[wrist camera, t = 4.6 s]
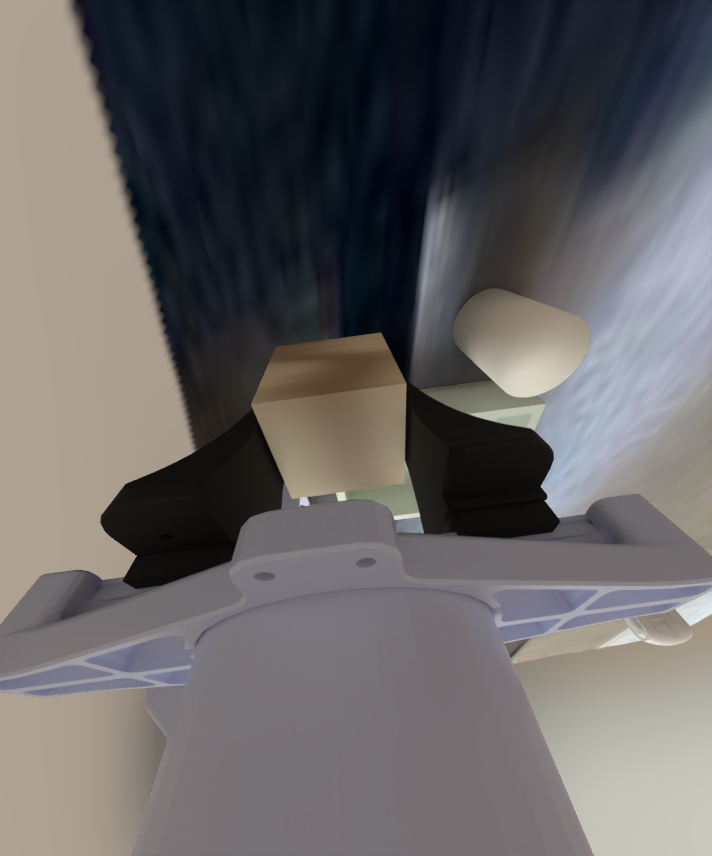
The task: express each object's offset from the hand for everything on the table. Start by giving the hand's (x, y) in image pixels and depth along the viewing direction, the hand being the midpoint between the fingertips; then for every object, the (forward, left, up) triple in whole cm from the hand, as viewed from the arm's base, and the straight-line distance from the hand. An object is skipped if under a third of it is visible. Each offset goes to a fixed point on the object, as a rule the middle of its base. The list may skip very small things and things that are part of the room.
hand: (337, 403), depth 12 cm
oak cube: (0, 0, -2) cm, 2 cm away
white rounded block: (+58, -64, -10) cm, 87 cm away
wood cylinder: (+12, 0, -9) cm, 15 cm away
